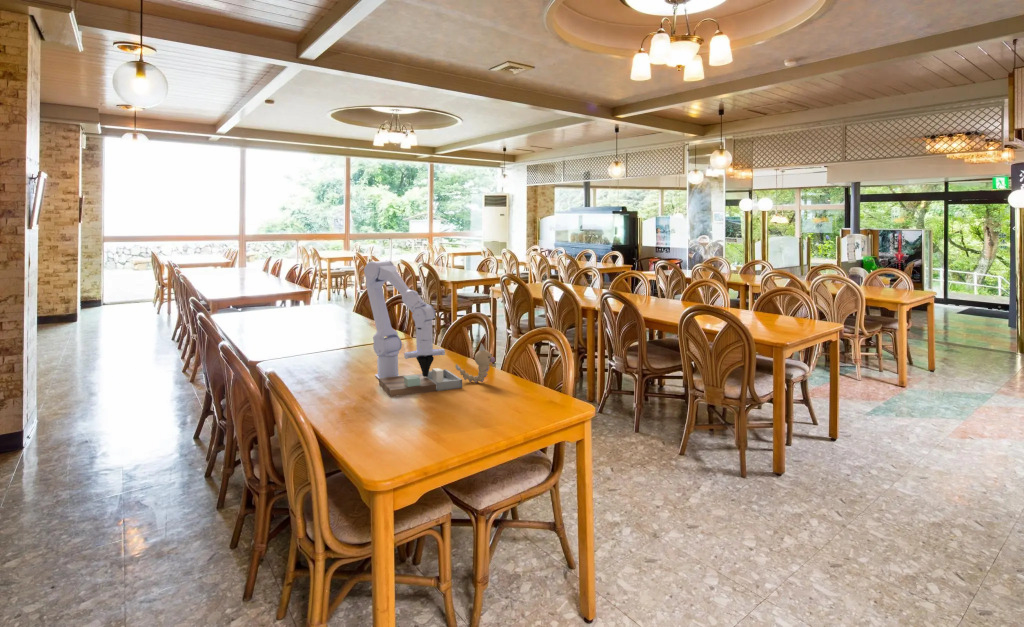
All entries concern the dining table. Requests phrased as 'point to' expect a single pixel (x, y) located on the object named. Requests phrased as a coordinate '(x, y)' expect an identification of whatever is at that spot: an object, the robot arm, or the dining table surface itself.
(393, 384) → the board
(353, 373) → the dining table surface
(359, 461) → the dining table surface
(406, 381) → the grey-green block
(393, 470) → the dining table surface
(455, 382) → the tray
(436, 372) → the tile
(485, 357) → the toy
